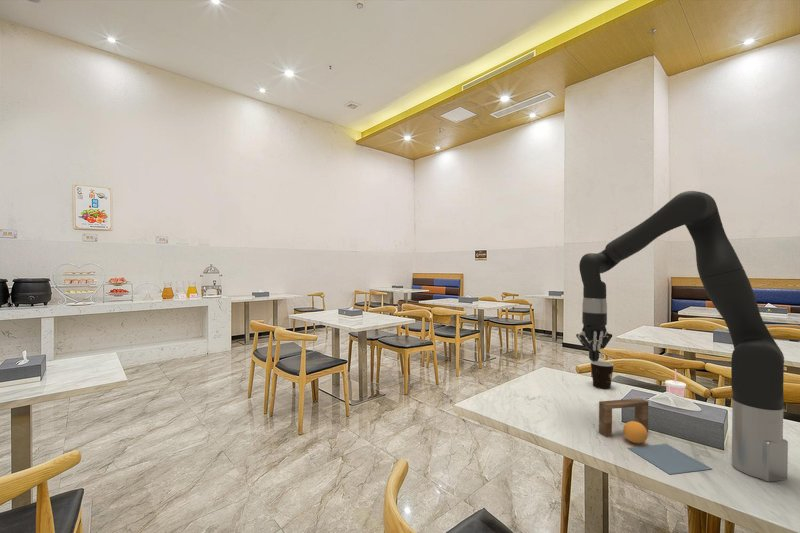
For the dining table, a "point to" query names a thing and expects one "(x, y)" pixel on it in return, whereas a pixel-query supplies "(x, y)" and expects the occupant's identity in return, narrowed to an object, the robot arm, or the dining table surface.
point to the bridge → (607, 407)
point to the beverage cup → (675, 386)
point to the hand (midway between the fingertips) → (594, 360)
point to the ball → (635, 432)
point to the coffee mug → (602, 374)
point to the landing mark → (669, 459)
